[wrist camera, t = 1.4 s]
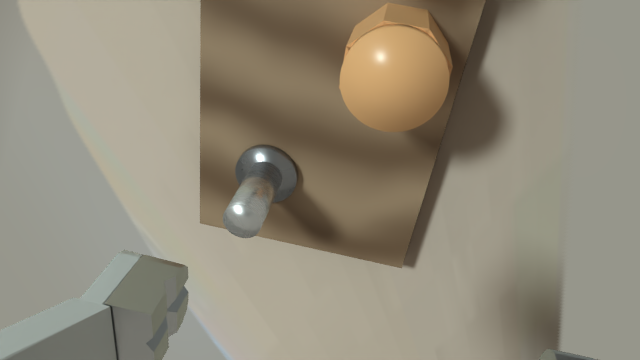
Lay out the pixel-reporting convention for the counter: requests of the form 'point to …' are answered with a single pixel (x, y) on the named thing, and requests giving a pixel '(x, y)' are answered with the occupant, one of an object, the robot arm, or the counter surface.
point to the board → (316, 122)
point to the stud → (259, 188)
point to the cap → (395, 69)
